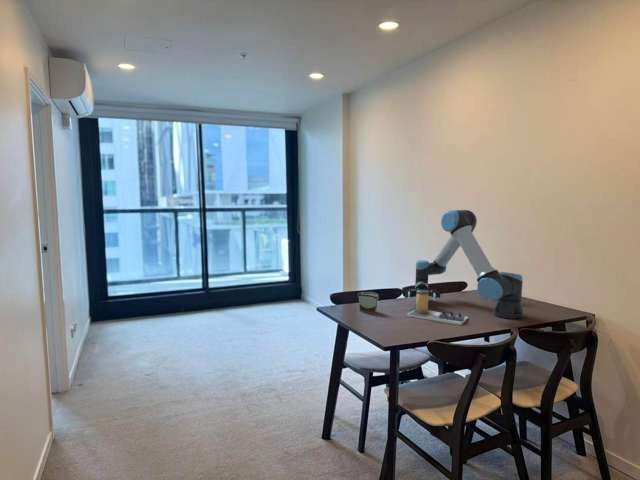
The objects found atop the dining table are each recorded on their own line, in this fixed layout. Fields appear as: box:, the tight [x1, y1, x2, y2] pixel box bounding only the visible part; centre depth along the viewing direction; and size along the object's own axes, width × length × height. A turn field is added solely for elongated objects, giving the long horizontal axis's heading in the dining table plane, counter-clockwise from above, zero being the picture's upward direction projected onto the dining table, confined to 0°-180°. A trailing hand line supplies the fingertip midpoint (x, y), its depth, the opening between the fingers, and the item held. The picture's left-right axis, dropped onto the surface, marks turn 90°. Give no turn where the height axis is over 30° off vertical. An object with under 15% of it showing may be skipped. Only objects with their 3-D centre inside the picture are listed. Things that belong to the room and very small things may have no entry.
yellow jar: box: [415, 290, 430, 314], centre depth 233 cm, size 6×6×12 cm
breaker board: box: [406, 308, 469, 326], centre depth 229 cm, size 28×13×5 cm, turn 57°
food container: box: [357, 291, 380, 314], centre depth 241 cm, size 12×6×10 cm, turn 57°
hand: (421, 297), depth 238 cm, fingers open, 13 cm apart
